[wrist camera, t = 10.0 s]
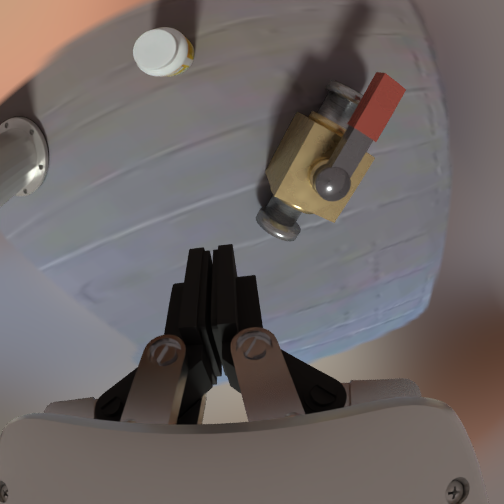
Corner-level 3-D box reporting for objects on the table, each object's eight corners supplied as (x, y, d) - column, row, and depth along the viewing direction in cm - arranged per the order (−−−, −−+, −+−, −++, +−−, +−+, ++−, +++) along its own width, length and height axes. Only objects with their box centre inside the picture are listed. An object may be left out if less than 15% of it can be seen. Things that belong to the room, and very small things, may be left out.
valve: (297, 225, 42) (312, 262, 35) (247, 206, 40) (252, 241, 33) (367, 106, 32) (402, 119, 25) (316, 75, 30) (343, 77, 23)
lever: (334, 200, 30) (339, 207, 29) (306, 186, 29) (310, 193, 28) (399, 90, 23) (408, 92, 22) (373, 70, 22) (381, 70, 21)
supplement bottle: (181, 82, 29) (165, 85, 22) (143, 66, 28) (115, 66, 20) (203, 45, 27) (195, 34, 19) (164, 29, 25) (143, 15, 17)
